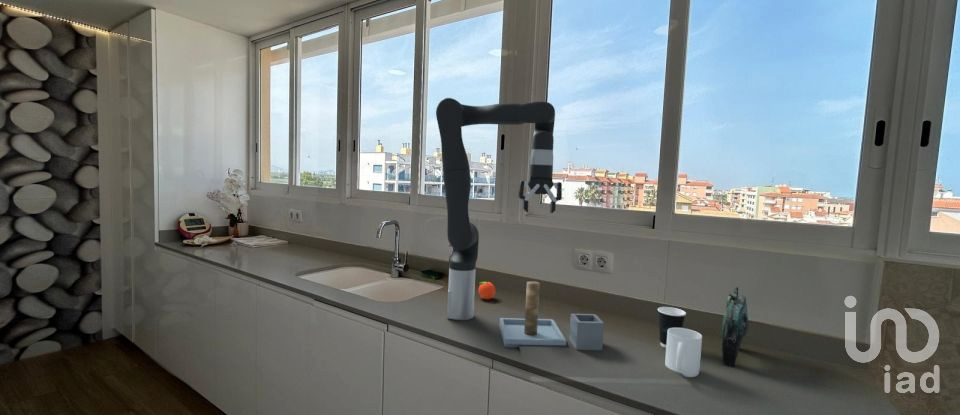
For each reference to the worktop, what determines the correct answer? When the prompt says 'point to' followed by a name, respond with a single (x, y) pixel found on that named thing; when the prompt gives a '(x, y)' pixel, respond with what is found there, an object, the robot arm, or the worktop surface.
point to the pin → (531, 308)
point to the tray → (515, 335)
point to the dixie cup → (669, 321)
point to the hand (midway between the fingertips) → (539, 212)
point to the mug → (683, 351)
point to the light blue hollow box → (586, 332)
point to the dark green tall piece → (734, 327)
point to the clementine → (486, 290)
